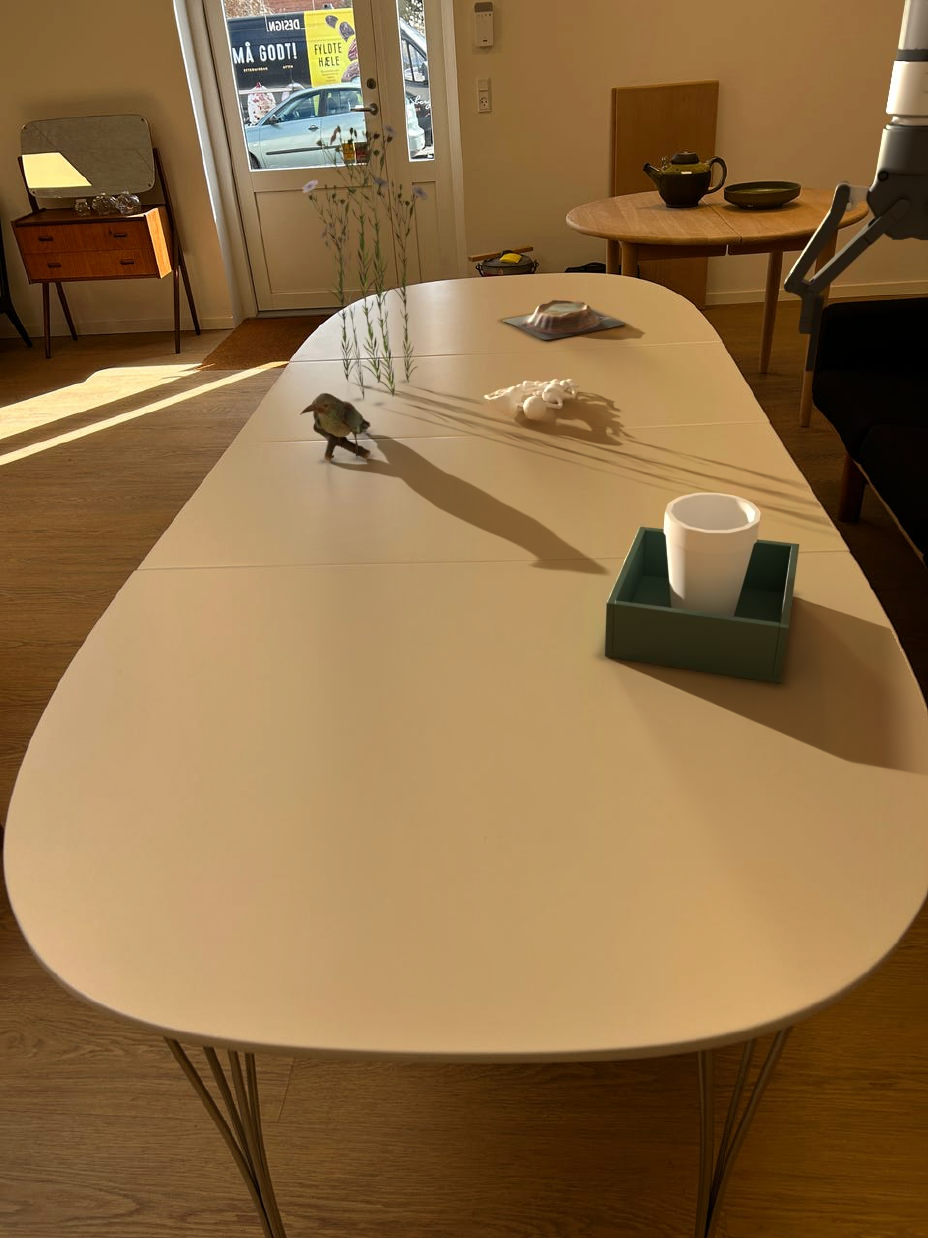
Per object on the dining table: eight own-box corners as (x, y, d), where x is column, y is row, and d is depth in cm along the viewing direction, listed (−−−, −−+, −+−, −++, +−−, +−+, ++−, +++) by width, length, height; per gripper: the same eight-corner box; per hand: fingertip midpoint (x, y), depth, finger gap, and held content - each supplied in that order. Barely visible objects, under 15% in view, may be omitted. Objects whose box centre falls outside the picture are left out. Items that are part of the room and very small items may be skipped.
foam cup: (666, 592, 107) (673, 488, 100) (749, 603, 104) (763, 496, 97) (651, 637, 99) (659, 527, 92) (741, 649, 96) (756, 537, 89)
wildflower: (345, 369, 186) (314, 114, 162) (455, 373, 180) (439, 109, 156) (299, 408, 168) (256, 127, 144) (419, 414, 162) (395, 122, 138)
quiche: (580, 306, 218) (580, 288, 216) (628, 325, 202) (628, 306, 200) (500, 320, 211) (499, 302, 209) (542, 341, 195) (542, 322, 193)
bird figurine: (335, 423, 158) (300, 340, 140) (391, 426, 156) (362, 343, 138) (316, 489, 153) (277, 411, 135) (374, 493, 150) (341, 415, 133)
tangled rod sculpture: (528, 387, 174) (526, 365, 172) (598, 391, 167) (597, 368, 165) (471, 418, 161) (469, 394, 159) (544, 424, 153) (543, 399, 151)
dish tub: (791, 595, 106) (799, 543, 103) (779, 683, 92) (788, 628, 89) (637, 575, 112) (639, 526, 108) (604, 656, 98) (606, 603, 94)
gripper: (773, 127, 78) (745, 375, 90) (1117, 119, 70) (1039, 392, 82) (779, 118, 84) (753, 352, 96) (1098, 109, 76) (1028, 366, 88)
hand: (885, 371), depth 89 cm, fingers open, 13 cm apart
